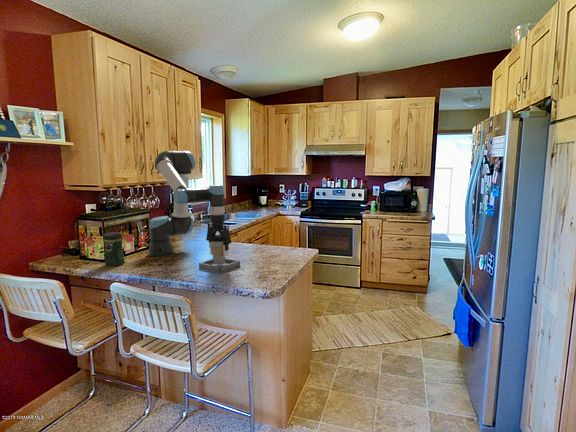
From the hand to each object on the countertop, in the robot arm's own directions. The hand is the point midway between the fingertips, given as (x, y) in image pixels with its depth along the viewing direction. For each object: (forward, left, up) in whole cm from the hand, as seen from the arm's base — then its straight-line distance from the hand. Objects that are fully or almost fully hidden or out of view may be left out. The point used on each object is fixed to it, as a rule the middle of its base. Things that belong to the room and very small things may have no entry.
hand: (219, 254), depth 187 cm
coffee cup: (0, 0, -5) cm, 5 cm away
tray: (0, 0, -7) cm, 7 cm away
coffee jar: (-55, -28, -7) cm, 62 cm away
